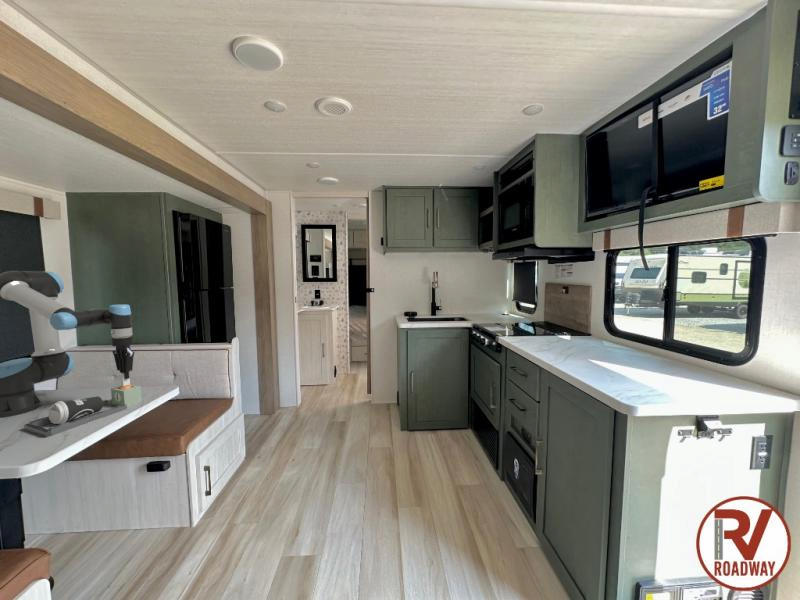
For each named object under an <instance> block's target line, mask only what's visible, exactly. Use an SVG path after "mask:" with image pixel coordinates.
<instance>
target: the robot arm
mask: <svg viewBox="0 0 800 600" xmlns="http://www.w3.org/2000/svg"><path fill="white" fill-rule="evenodd" d="M64 285H65V284H64V282H63V280H62V277H60V276H59V275H58V274H57V273H55V272H52V271H47V270H46V271H45V270H10V271H4V272H1V273H0V298H2V299H4V300H6V301H12V302H15V303H17V304H19V305H20V306H21V305H22V306H23V307H25V308H26V309H28V310H29V311H28V312H29V317H30V325H31V333H32V338H33V339H32V340H33V346H34V352H32V354H31V355H30V357H31V358H30V357H22V358H21V357H20V358H17V359H11V360H7V361H3V362H0V419H3V418H10V417H15V416H18V415H23V414H27V413H30V412H33V411H36V410H37V408H38V409H40V408H41V407H43V404H42V403H43V402H42V400H41V398H40V397H39V396H38V394H37V393H36V391H35V384H40V383H43V382H47V381H51V380H55V379H56V380H57V379H59V378H63V377H65V376H68V374H70V373H71V372H72V371H73V370H74V369H73V368H74V366H75V361H74V357H73V356H72V355H71V354H70V353H68V352H66V351H67V350H66V349H64V348H62V346H61V342H60V341H61V340H60V332H59V331H68V330H73V329H79V328H80V329H81V328H86V327H87V328H88V327H94V326H100V325H110V332H109V333H110V334H111V346H113V347H115V350H112V354H113V357H114V362H115V367H116V370H117V371H119V373H120V381H121V383H120V384H121V386H126V385H130V384H131V380H130V372H131V371H133V364H134V355H135V351H131V350H132V349H131V345H133V344H134V338H133V337H134V336H133V326H132V325H133V324H132V323H133V322H132V311H131V310H132V309H131V306H130V304H126V303H125V304H119V303H118V304H112V305H109V307H108V308H101V307H99V308H91V309H85V310H83V309H82V310H74V309H72V308H69V307H67V306H66V305H64V304H62V303H60V302H58V301H56V300H57V299H58V298H59V294H61V293H63V290H64ZM39 407H40V408H39Z"/></svg>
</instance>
